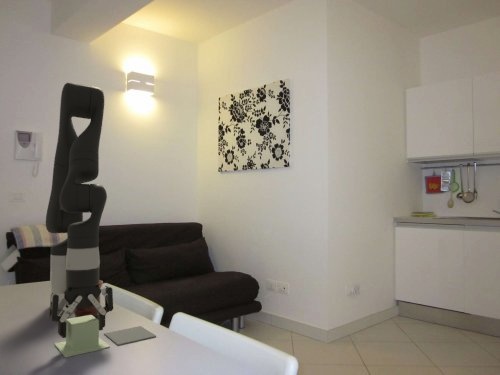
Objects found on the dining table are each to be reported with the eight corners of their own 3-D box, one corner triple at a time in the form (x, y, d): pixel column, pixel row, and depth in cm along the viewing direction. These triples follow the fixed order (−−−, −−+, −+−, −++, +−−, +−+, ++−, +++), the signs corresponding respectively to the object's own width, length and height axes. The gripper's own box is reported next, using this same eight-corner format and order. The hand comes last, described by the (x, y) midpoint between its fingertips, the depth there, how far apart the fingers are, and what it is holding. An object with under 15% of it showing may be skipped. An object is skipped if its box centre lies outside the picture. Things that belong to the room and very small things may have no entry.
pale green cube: (65, 343, 99) (66, 319, 99) (91, 338, 102) (91, 314, 103) (72, 351, 94) (72, 325, 94) (98, 345, 98) (98, 320, 98)
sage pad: (54, 344, 99) (54, 343, 99) (96, 336, 105) (96, 334, 105) (65, 357, 91) (65, 356, 91) (109, 347, 97) (109, 346, 97)
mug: (82, 311, 127) (83, 278, 128) (108, 313, 126) (108, 280, 126) (57, 323, 116) (57, 287, 116) (85, 325, 114) (85, 288, 114)
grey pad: (104, 334, 106) (104, 333, 106) (140, 327, 113) (140, 325, 113) (118, 345, 99) (118, 344, 99) (156, 336, 105) (156, 335, 105)
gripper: (107, 261, 106) (106, 323, 106) (47, 266, 97) (46, 335, 97) (117, 265, 100) (116, 331, 100) (54, 271, 91) (53, 344, 91)
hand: (82, 333), depth 98 cm, fingers open, 8 cm apart
